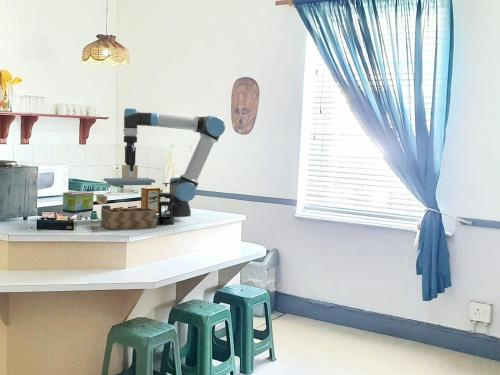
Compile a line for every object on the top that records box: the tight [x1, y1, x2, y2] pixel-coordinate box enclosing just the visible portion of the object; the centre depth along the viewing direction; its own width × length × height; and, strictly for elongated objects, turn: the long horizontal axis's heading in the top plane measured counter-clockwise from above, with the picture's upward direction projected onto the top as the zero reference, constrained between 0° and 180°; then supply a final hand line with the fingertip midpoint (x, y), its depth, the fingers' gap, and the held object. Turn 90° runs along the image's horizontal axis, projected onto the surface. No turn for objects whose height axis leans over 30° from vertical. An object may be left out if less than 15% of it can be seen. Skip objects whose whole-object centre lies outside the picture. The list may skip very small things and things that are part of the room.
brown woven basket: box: [100, 204, 157, 231], centre depth 334 cm, size 26×17×10 cm, turn 119°
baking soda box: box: [140, 186, 161, 214], centre depth 384 cm, size 10×6×16 cm
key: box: [95, 194, 108, 205], centre depth 342 cm, size 4×9×4 cm, turn 29°
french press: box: [156, 182, 176, 226], centre depth 347 cm, size 12×9×23 cm
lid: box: [103, 164, 156, 187], centre depth 355 cm, size 26×14×11 cm, turn 119°
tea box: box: [61, 190, 95, 220], centre depth 357 cm, size 15×10×15 cm, turn 151°
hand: (129, 176), depth 356 cm, fingers closed on lid, 4 cm apart
